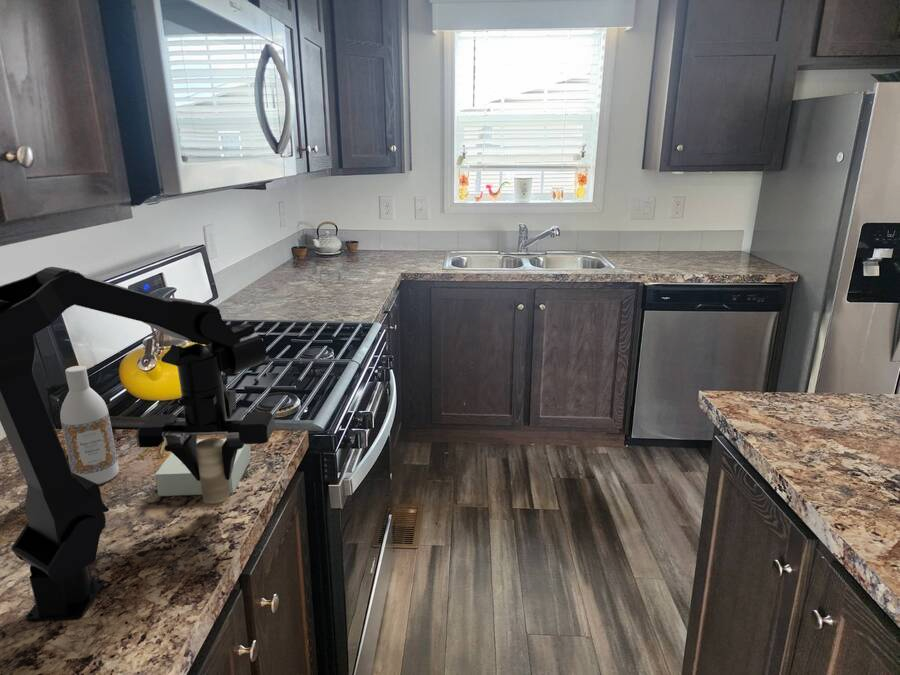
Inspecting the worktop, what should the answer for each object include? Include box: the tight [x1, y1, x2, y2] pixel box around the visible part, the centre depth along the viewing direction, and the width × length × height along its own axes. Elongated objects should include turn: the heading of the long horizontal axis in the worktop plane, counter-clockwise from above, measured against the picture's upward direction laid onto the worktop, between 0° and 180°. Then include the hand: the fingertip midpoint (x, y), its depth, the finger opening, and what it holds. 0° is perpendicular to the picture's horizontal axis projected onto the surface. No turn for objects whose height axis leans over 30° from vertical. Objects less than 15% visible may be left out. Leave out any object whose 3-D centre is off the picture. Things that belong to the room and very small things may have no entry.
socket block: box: [154, 438, 252, 497], centre depth 105 cm, size 12×12×4 cm
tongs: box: [137, 437, 166, 461], centre depth 117 cm, size 4×13×2 cm, turn 10°
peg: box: [195, 437, 231, 504], centre depth 93 cm, size 4×4×9 cm
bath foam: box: [59, 365, 120, 485], centre depth 102 cm, size 7×7×20 cm
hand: (214, 478), depth 93 cm, fingers closed on peg, 4 cm apart
